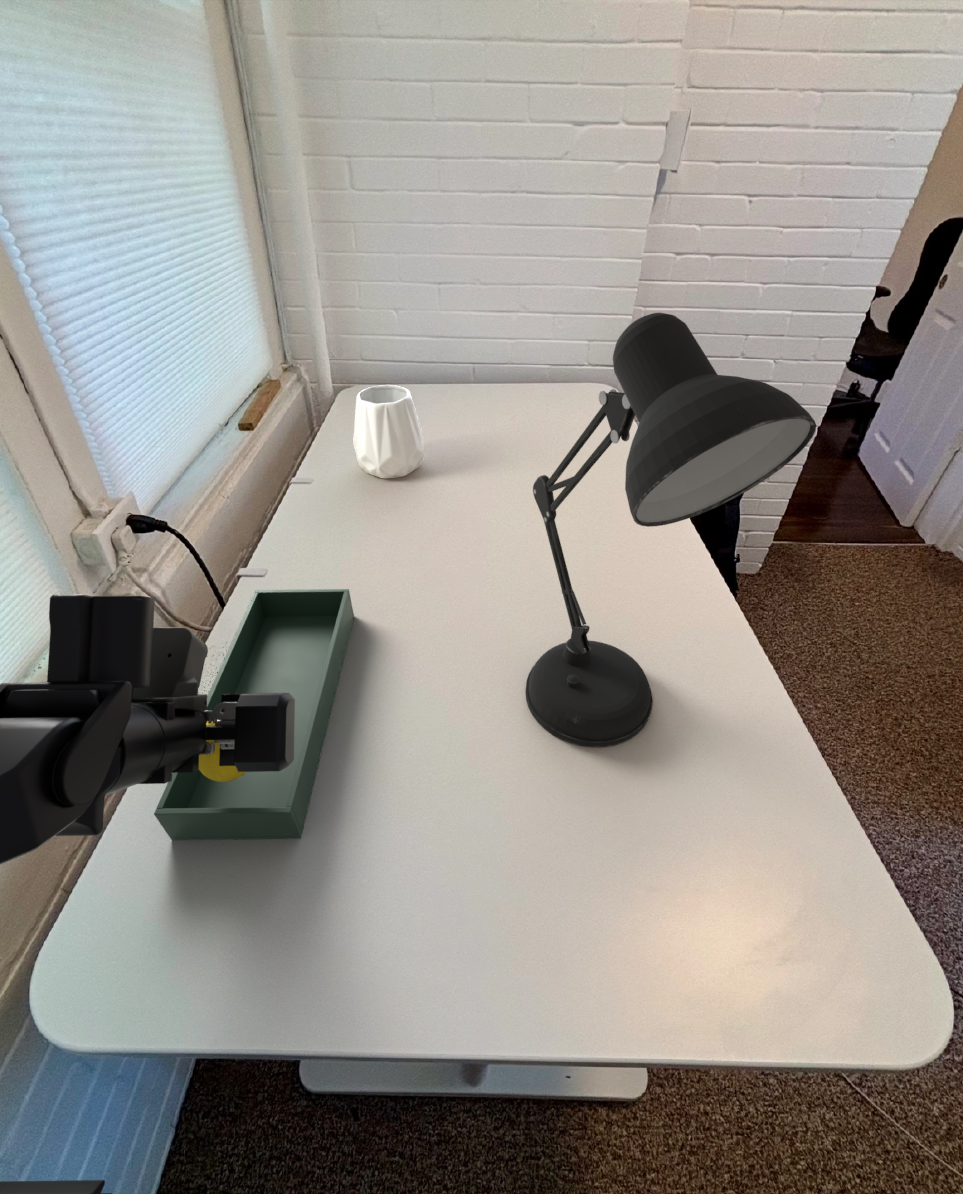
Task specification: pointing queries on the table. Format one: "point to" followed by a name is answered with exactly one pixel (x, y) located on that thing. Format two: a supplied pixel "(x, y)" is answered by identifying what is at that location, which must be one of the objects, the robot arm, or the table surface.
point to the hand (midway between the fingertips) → (221, 721)
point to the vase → (387, 432)
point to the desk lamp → (656, 501)
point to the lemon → (217, 765)
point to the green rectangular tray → (269, 665)
